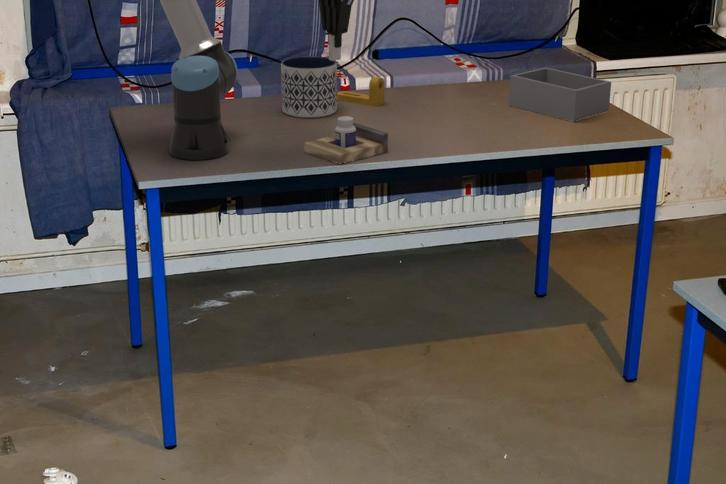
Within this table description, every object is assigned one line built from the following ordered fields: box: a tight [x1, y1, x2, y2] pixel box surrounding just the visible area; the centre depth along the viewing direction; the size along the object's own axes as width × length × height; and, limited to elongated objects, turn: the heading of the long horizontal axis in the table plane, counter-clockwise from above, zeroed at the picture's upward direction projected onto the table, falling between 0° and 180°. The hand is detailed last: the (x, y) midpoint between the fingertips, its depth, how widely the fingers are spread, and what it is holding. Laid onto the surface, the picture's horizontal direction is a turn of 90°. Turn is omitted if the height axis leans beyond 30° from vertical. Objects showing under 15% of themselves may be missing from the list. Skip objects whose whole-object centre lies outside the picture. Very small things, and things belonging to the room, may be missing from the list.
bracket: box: [337, 76, 385, 108], centre depth 326 cm, size 15×4×8 cm, turn 58°
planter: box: [280, 55, 338, 119], centre depth 314 cm, size 16×16×14 cm
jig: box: [303, 121, 389, 164], centre depth 279 cm, size 16×14×5 cm
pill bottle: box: [334, 115, 356, 148], centre depth 279 cm, size 5×5×9 cm
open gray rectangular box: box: [508, 67, 612, 121], centre depth 318 cm, size 16×24×9 cm, turn 42°
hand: (334, 59), depth 280 cm, fingers closed
